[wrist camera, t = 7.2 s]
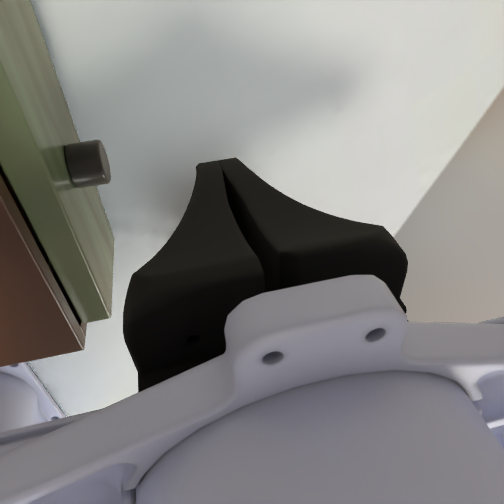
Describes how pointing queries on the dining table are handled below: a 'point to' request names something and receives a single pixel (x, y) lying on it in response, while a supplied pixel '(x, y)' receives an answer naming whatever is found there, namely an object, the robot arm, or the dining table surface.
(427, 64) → the dining table surface
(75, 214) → the drawer
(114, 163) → the dining table surface
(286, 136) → the dining table surface
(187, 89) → the dining table surface
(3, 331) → the cabinet
